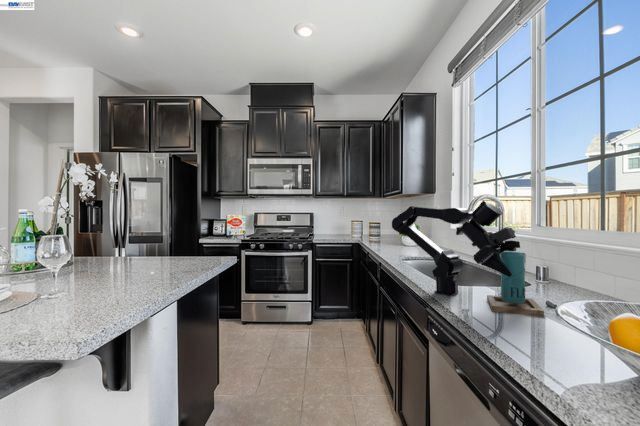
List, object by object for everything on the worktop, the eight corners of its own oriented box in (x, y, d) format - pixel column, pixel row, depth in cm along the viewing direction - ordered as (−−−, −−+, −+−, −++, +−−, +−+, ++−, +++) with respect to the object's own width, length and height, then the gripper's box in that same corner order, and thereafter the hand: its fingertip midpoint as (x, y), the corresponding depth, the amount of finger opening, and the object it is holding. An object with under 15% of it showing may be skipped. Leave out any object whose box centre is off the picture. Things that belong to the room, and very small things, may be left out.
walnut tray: (492, 311, 85) (491, 305, 85) (487, 299, 96) (487, 294, 96) (544, 316, 80) (544, 310, 80) (532, 303, 91) (532, 298, 91)
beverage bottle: (509, 308, 85) (508, 241, 86) (495, 302, 92) (495, 239, 92) (531, 308, 85) (530, 241, 86) (516, 302, 91) (515, 240, 92)
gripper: (483, 219, 86) (527, 260, 77) (508, 218, 97) (550, 254, 88) (458, 244, 92) (496, 284, 83) (484, 240, 103) (521, 275, 94)
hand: (517, 273), depth 87 cm, fingers open, 9 cm apart
